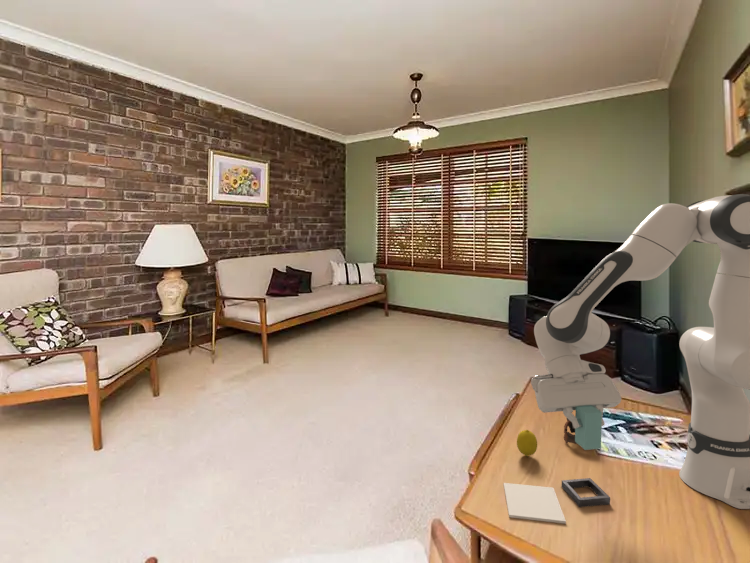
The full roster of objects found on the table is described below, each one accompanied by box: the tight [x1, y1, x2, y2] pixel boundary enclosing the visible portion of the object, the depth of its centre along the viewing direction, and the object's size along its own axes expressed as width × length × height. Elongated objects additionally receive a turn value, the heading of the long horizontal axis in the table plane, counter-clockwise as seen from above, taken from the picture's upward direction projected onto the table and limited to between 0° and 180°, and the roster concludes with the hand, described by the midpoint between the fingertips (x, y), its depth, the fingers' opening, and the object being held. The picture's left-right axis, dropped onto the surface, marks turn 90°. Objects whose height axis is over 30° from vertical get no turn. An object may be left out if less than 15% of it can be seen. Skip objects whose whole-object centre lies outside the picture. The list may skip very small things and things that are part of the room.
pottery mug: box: [563, 417, 578, 445], centre depth 123 cm, size 12×10×8 cm
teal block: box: [574, 405, 603, 451], centre depth 95 cm, size 4×4×9 cm
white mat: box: [503, 482, 567, 525], centre depth 95 cm, size 12×12×1 cm
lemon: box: [516, 429, 538, 457], centre depth 115 cm, size 6×6×8 cm
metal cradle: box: [561, 477, 611, 508], centre depth 97 cm, size 8×8×2 cm
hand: (589, 426), depth 95 cm, fingers closed on teal block, 4 cm apart
